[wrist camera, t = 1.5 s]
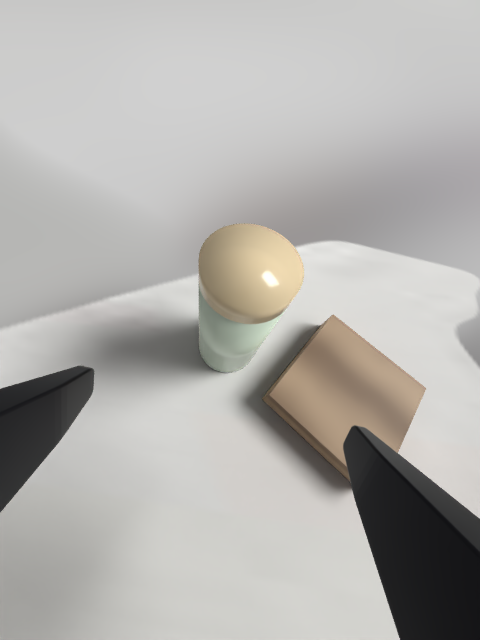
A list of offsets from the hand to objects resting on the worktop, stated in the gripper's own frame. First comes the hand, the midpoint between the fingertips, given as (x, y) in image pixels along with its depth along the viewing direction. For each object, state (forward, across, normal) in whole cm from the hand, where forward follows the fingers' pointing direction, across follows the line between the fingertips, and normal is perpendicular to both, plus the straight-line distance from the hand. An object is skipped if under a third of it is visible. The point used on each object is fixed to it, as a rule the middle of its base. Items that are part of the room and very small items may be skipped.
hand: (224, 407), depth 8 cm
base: (+12, -11, +6) cm, 17 cm away
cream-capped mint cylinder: (+14, 0, +4) cm, 14 cm away
